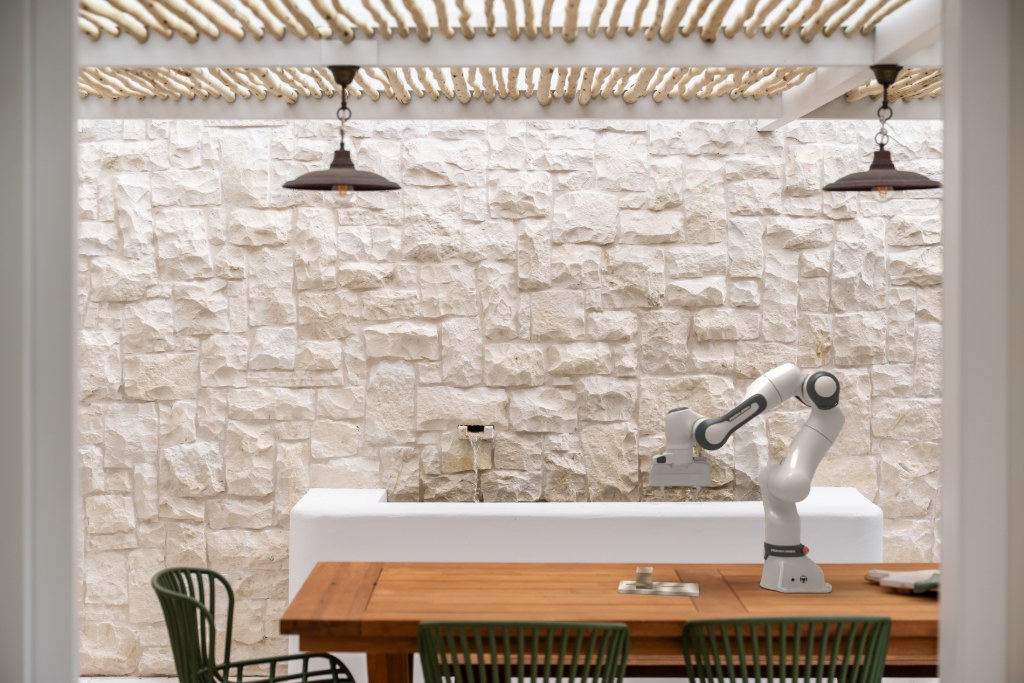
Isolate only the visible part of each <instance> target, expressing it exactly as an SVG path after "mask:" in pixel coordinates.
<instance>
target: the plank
mask: <svg viewBox="0 0 1024 683" xmlns="http://www.w3.org/2000/svg"><path fill="white" fill-rule="evenodd" d="M617 594H627V595H628V594H629V595H630V594H631V595H632V594H634V595H651V596H652V595H654V596H655V595H657V596H679V597H680V596H682V597H700V588H699V583H694V582H693V583H692V582H691V583H690V582H667V581H653V587H652V589H639V588H636V580H621V579H620V580H619V585H618V589H617Z"/></svg>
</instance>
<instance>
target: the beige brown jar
mask: <svg viewBox="0 0 1024 683" xmlns="http://www.w3.org/2000/svg"><path fill="white" fill-rule="evenodd" d="M635 574H636V575H635V578H636V579H635V581H636V588H639V589H652V587H653V582H654V567H652V566H651V567H650V566H637V567H636V572H635Z"/></svg>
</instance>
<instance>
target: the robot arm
mask: <svg viewBox="0 0 1024 683" xmlns="http://www.w3.org/2000/svg"><path fill="white" fill-rule="evenodd" d="M840 390H841V384H840V381H839V379H838V378H837V377H836V376H835V375H834V374H833V373H832V372H828V371H824V370H822V371H821V370H820V371H816V372H813V373H811V374H810V373H809V374H805V373H804V372H802V370H801V369H800V368H799V367H798V366H797V365H796V364H793V363H789V362H787V363H784V364H780V365H779V366H776V367H774V368H772V369H771V370H769V371H767V372H766V373H763V374H762V375H760V376H759V377H757V378H755V379H754V380H753V382H750V384H749V385H748V386H747V387H746V390H745V395H744V398H743V399H742V400H741V401H740V403H738V404H737V405H735V406H734V407H733V408H731V409H730V410H729V411H726V413H723V414H722V415H720V416H719V417H715V418H712V417H709V416H706V415H703V414H700V413H698V412H696V411H694V410H692V409H691V408H690V407H688V406H682V407H676V408H673V409H670V410H669V411H667V413H666V416H665V421H664V423H665V424H664V434H665V435H664V436H665V438H666V444H665V451H664V452H662V453H661V452H660V453H658V454H654V455H653V456H652V459H651V461H652V464H651V466H650V468H649V475H648V484H649V485H650V486H651V487H659V490H660V492H661V493H662V496H663V500H664V501H667V500H669V494H668V493H666V492H665V491H664V490H665V487H684V486H685V487H686V486H687V487H695V488H696V491H695V493H692V501H693V500H698V495H699V492H700V491H701V488H702V486H704V487H705V486H706V487H707V486H708V487H709V486H710V485H711V484H712V475H711V470H712V467H713V461H712V460H711V458H708V457H707V456H701V457H700V456H694V447H693V446H695V445H698V446H700V447H701V449H704V450H706V451H710V452H711V451H717V450H719V449H721V448H722V447H724V446H725V445H726V443H727V442H728V440H729V438H730V437H731V436H732V435H733V433H735V432H736V431H737V430H739V429H741V427H743V426H744V425H746V424H747V423H749V422H750V421H752V420H753V419H755V418H756V417H759V416H761V415H762V414H765V413H766V412H768V411H771V410H773V409H775V408H776V407H778V406H779V405H781V404H783V403H784V402H786V401H787V400H789V399H791V398H793V397H794V398H796V399H797V400H798V402H800V403H801V404H803V405H804V406H806V407H808V408H811V411H810V415H809V417H808V418H807V420H806V421H805V422H804V423H803V425H802V427H801V428H800V429H799V431H798V432H797V433H796V434H795V436H794V438H793V439H792V440H791V442H790V443H789V447H788V448H789V449H788V452H787V454H786V457H785V459H784V461H783V463H782V464H779V463H775V464H773V463H772V464H770V465H766V466H764V467H763V468H761V469H760V471H759V473H758V475H757V483H758V487H759V489H760V493H761V499H762V505H763V506H762V507H763V511H764V518H765V520H764V522H765V528H764V529H765V534H764V535H765V539H764V540H765V541H764V542H763V552H762V553H763V569H762V575H761V580H760V583H759V586H760V587H762V588H763V589H768V590H772V591H777V592H779V593H786V594H787V593H788V594H789V593H795V594H797V593H798V594H799V593H804V594H805V593H806V594H808V593H809V594H811V593H818V594H820V593H823V594H824V593H825V594H826V593H828V594H829V593H830V592H832V591H833V587H832V585H831V583H829V582H827V581H826V578H825V573H824V571H823V569H822V567H821V566H819V565H818V564H817V563H816V562H815V561H814V560H812V559H811V558H810V557H809V556H808V555H807V554H809V553H810V550H811V549H809V547H808V546H806V545H805V544H803V543H801V518H800V517H801V516H800V514H799V513H798V508H797V503H799V502H803V501H804V500H806V498H808V497H809V494H810V492H811V489H812V488H811V485H812V484H811V483H812V481H813V478H814V476H815V473H816V471H817V469H818V467H819V465H820V463H821V462H822V461H823V459H824V457H825V456H826V455H827V454H828V452H829V450H830V449H831V448H832V446H833V445H834V444H835V442H836V440H837V438H838V437H839V435H840V434H841V431H842V429H843V427H844V424H845V421H846V416H845V414H844V412H843V411H842V410H841V408H839V407H837V406H838V405H839V403H840V401H839V400H840Z"/></svg>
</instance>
